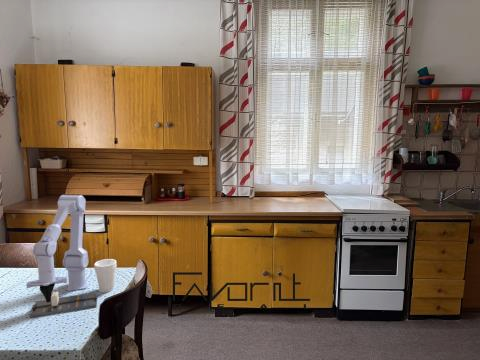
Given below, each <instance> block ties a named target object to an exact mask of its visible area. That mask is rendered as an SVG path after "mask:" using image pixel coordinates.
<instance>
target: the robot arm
mask: <svg viewBox="0 0 480 360" xmlns="http://www.w3.org/2000/svg"><path fill="white" fill-rule="evenodd" d="M86 201H87V200H86V198H85V197H84V196H83V195H81V194H80V195H75V194H74V195H70V194H62V195H60V196H59V198H58V201H57V210H56V213H55V216H54V218H53V220H52V224H49V225H48V226H46V229H45V230H44V233H43V235H42V237H41V238H40V240H39V241H38V242H36V243H35V244H34V246H33V250H32V253H33V255H34V256H35V260H36V261H37V273H38V279H36V280H31V281H27V282H26V284H25V287H26V289H30V288H35V287H39V291H40V293H42V295H43V298H45V299H44V300H46V302H47V303H48V302H50V301H51V297H52V294H53V292H54V291H53V290H54V288H55V285H56V284H57V285H58V284H67V283H68V285H67V290H66V291H67V292H71V291H77V290H85V289H87V287H88V286H87V285H88V279H86V268H87V266H88V265H89V262H90V261H89V259H90V258H89V255H88V251H87V250H86V249H84V248H83V236H84V235H83V233H84V231H83V230H84V213H85V212H86ZM68 215H70V233H69V234H70V236H69V238H70V239H69V249H67V250H66V251H64V257H63V259H62V265H63V268H65V270H66V271H67V276H61V277H60V276H56V274H55V271H56V270H55V263H54V262H55V261H54V255H55V252H56V251H57V245H58V242H57V241H58V239H59V237H60V235H61V233H62V226H63V224H64V223H65V221H66V219H67V217H68Z"/></svg>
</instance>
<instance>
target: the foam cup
mask: <svg viewBox="0 0 480 360" xmlns="http://www.w3.org/2000/svg"><path fill="white" fill-rule="evenodd" d="M117 266H118V265H117V260H116V259H114V258H107V259H106V258H104V259H100V260H97V261H96V262H95V263H94V271H95V274H96V280H97V286H98V289H99V292H100V293H110V292H113V290H114V289H115V283H116V275H117V273H116V272H117Z"/></svg>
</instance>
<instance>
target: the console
mask: <svg viewBox="0 0 480 360" xmlns="http://www.w3.org/2000/svg"><path fill="white" fill-rule="evenodd" d="M97 302H98V291H95V292H89V293H82V294H76V295H68V296H63V297H59V302H58V305H57V306H52V301H50V302H48V303H47V302H46V299H42V300H37V301H35V303H34V304H32V307H31V309H32V310H31V312H30V314H29V318H30V319H33V318H38V317H46V316H50V315H58V314H62V313H68V312H73V311H75V312H76V311H79V310H80V311H81V310H87V309H92V308H97V305H98V303H97Z"/></svg>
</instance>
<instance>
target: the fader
mask: <svg viewBox="0 0 480 360" xmlns="http://www.w3.org/2000/svg"><path fill="white" fill-rule="evenodd" d="M59 293H60V292H59V291H52V295H51V301H52V306H57V305H58V302H59V298H60V295H59Z"/></svg>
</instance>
